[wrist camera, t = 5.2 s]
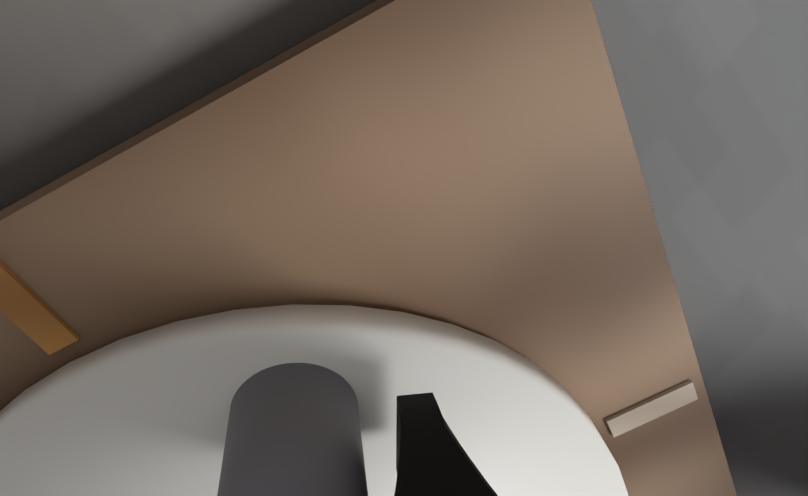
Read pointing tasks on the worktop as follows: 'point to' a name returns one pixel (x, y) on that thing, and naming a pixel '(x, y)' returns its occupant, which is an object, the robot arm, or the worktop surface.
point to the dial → (293, 411)
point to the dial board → (391, 217)
